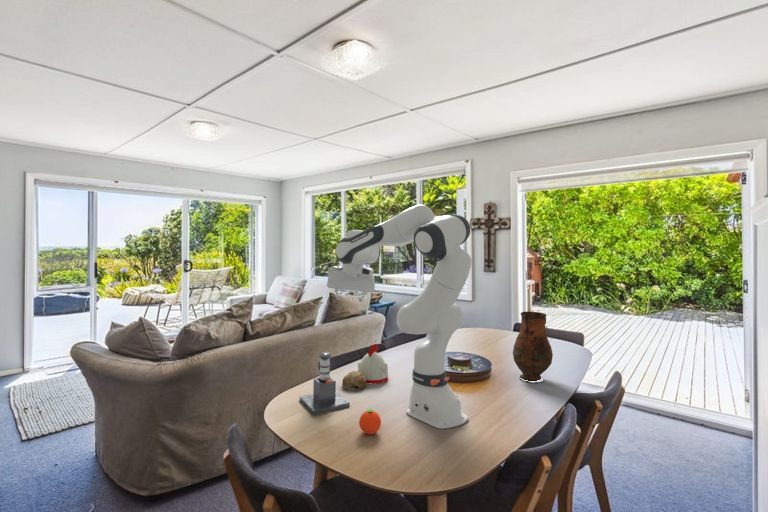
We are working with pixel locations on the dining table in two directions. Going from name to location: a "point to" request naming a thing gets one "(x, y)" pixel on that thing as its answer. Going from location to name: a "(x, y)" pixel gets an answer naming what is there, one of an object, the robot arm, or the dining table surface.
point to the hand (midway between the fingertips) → (349, 300)
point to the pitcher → (532, 346)
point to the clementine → (370, 422)
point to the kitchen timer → (373, 367)
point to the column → (324, 366)
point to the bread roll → (354, 381)
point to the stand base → (324, 398)
